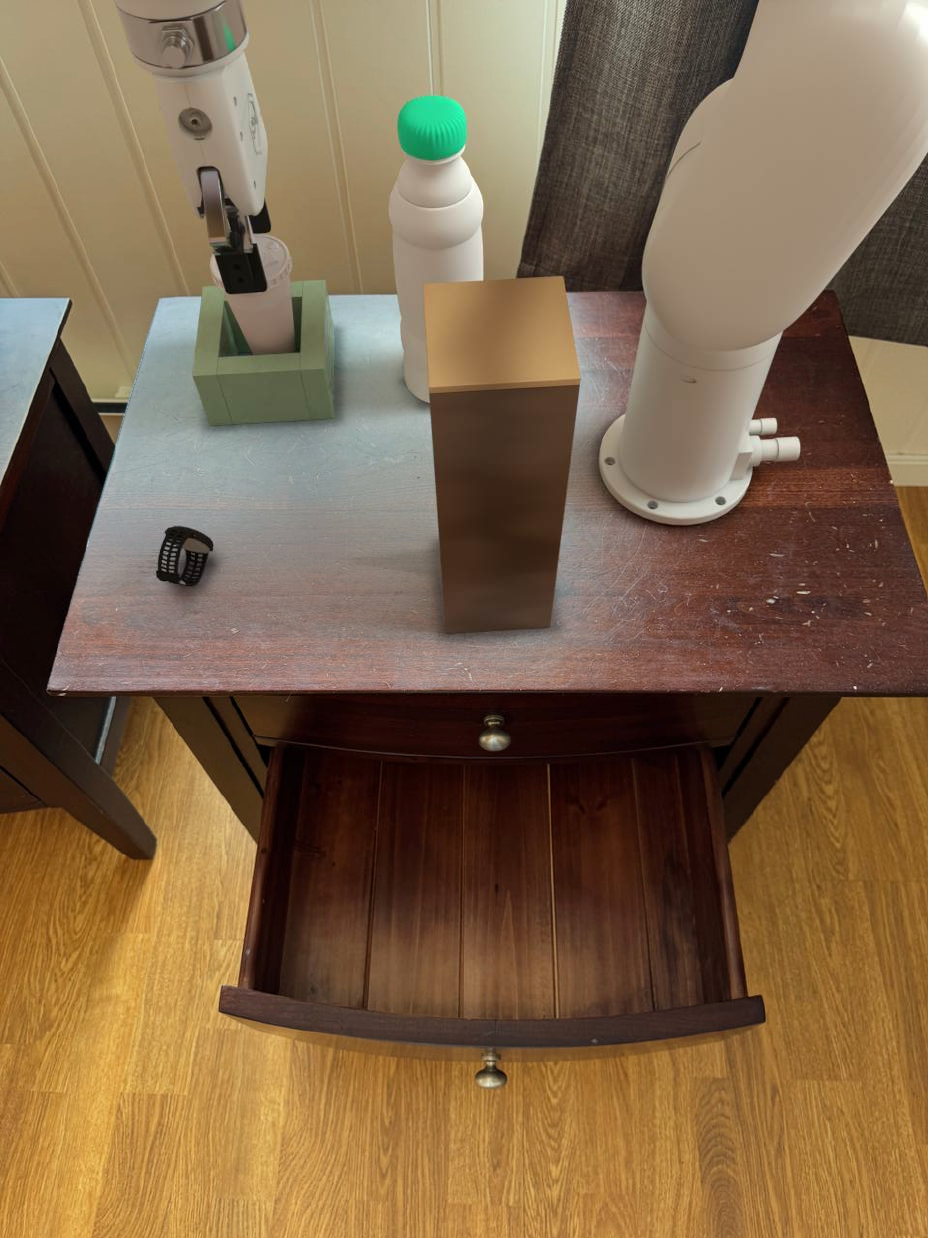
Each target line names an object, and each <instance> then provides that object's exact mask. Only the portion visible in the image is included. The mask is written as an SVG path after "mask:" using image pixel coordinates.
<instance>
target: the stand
mask: <svg viewBox="0 0 928 1238" xmlns="http://www.w3.org/2000/svg"><path fill="white" fill-rule="evenodd" d="M290 288H291V299H292V310H293V322H294V333H295V344H296V350H299V351H300V352H296V353H284V354H267V355H253V354H252V355H251V354H250V355H240V353H250V352H251V353H252V351H251V349H250V347H249V345H248V343H247V341H246V339H245V337H244V335H243V332H242V330H241V328H240V326H239V324H238V322H237V320H236V318H235V316H234V314H233V312H232V309H231V307H230V305H229V303H228V301H227V299H226V297H225V295H224V293H223V291H222V290H221V289H220V288H219V287H218V286H217V285H206V286H202V288H201V297H200V305H199V314H198V324H197V332H196V341H195V349H194V356H193V358H194V359H193V367H192V379H193V382H194V384H195V387H196V391H197V393H198V395H199V396H198V397H199V398H200V401H201V404H202V406H203V409H204V412H205V415H206V419H207V420H208V423H209V427H213V426H229V425H245V424H247V425H248V424H263V423H281V422H297V421H310V420H311V421H314V420H315V421H316V420H331V419H335V326H334V321H333V315H332V309H331V304H330V299H329V292H328V287H327V281H326V279H314V280H313V279H312V280H296V281H295V280H293V281H290Z"/></svg>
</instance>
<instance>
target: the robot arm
mask: <svg viewBox="0 0 928 1238" xmlns="http://www.w3.org/2000/svg"><path fill="white" fill-rule="evenodd" d="M113 1H114V4H115V8H116V11H117V13H118V17H119V20H120V23H121V26H122V29H123V32H124V35H125V38H126V41H127V44H128V47H129V51H130V53H131V57H132V59H133V60H134V61H133V62H135V64H137V66H138V67H140V68H141V69H143V70H144V71H147V72H148V73H150V74H151V75H152V79H153V83H154V87H155V92H156V96H157V100H158V103H159V105H158V107H159V110H160V111H161V115H162V119H163V123H164V127H165V130H166V134H167V138H168V141H169V145H170V148H171V151H172V155H173V159H174V163H175V165H176V169H177V172H178V176H179V179H180V182H181V185H182V188H183V191H184V194H185V197H186V200H187V202H188V205H189V207H190V210H191V212H192V213H193V214H194V216H196V217H197V218H198V219H200V220H204V219H205V222H206V231H207V239H208V243H209V246H210V247H211V251H212V253H213V254H214V256H215V259H216V263H217V266H218V269H219V272H220V276H221V279H222V282H223V285H224V288H225V291H226V293H228V294H245V293H259V292H265V291H266V290H267V280H266V276H265V273H264V269H263V265H262V261H261V257H260V253H259V249H258V246H257V243H252V239H251V233H250V228H249V222H248V217H249V221H250V224H251V228H252V232H253V234H268V233H270V232H271V231H272V222H271V218H270V213H269V209H268V206H267V201H266V197H265V196H266V195H265V194H266V185H267V184H266V183H267V172H268V171H267V169H268V155H269V154H268V151H269V149H268V148H269V147H268V146H269V145H268V136H267V135H268V134H267V131H266V127H265V124H264V120H263V116H262V112H261V109H260V108H261V107H260V105H259V100H258V96H257V94H256V89H255V86H254V82H253V79H252V74H251V71H250V68H249V64H248V60H247V57H246V53H245V51H246V49H247V48H248V45H249V43H250V32H249V28H248V24H247V19H246V15H245V11H244V5H243V1H242V0H113ZM927 154H928V0H758V3H757V7H756V10H755V13H754V17H753V20H752V24H751V27H750V29H749V33H748V36H747V40H746V43H745V46H744V50H743V53H742V55H741V58H740V61H739V64H738V67H737V69H736V71H735V73H734V75H733V77H732V78H730V79H728V80H726V81H725V82H723V83H722V84H720V85H719V86H717V87H716V88H715V89H714V90H712V91H711V92H710V93H709V94H708V95H707V96H706V97H705V98H703V100H702V101H701V102H700V103H699V104H698V106H697V107H696V108H695V109H694V111H693V113H691V115H690V117H689V118H688V120H687V121H686V124H685V125H684V127H683V129H682V131H681V133H680V136H679V138H678V141H677V143H676V145H675V149H674V152H673V155H672V157H671V160H670V163H669V166H668V170H667V173H666V176H665V179H664V182H663V185H662V188H661V193H660V198H659V201H658V205H657V207H656V211H655V214H654V217H653V220H652V224H651V227H650V229H649V232H648V235H647V237H646V238H647V239H646V242H645V246H644V250H643V254H642V261H641V262H642V263H641V281H642V288H643V293H644V297H645V300H646V304H645V310H644V313H643V317H642V318H643V319H642V323H641V329H640V335H639V339H638V346H637V351H636V355H635V361H634V367H633V372H632V377H631V382H630V387H629V392H628V393H629V394H628V399H627V405H626V410H625V412H624V413H623V414H621V415H620V416H618V418H617V419H615V420H614V421H613V422H612V424H611V425H609V427H608V428H607V430H606V432H605V434H604V435H603V437H602V440H601V443H600V447H599V454H598V467H599V473H600V476H601V479H602V482H603V484H604V485H605V487H606V488H607V490H608V492H609V493H610V495H611V496H613V498H614V499H615V500H616V501H617V502H618V503H619V504H621V505H622V506H623V507H624V508H626V509H628V510H629V512H632V513H634V514H636V515H638V516H639V517H642V518H643V519H647V520H650V521H653V522H656V523H659V524H666V525H672V526H690V525H691V526H692V525H698V524H704V523H707V522H710V521H713V520H716V519H719V518H720V517H722V516H724V515H725V514H727V513H729V512H730V511H731V510H733V509H734V508H735V507H736V506H737V505H738V504H739V503H740V501H741V500H742V499H743V498H744V496H745V495H746V493H747V490H748V488H749V485H750V483H751V480H752V476H753V467H759V466H760V464H761V462H774V463H777V462H778V463H779V462H793V461H794V462H796V461H797V460H799V458H800V454H801V441H800V439H799V437H798V436H786V437H773V438H772V439H769V438H768V439H761V438H760V436H770V435H776V434H777V430H778V422H777V418H776V417H766V418H758V419H753V416H754V413H755V411H756V407H757V405H758V403H759V400H760V396H761V394H762V391H763V389H764V385H765V382H766V380H767V377H768V374H769V371H770V368H771V365H772V363H773V360H774V357H775V354H776V351H777V348H778V345H779V343H780V341H781V338H782V336H783V333H784V331H785V330H786V329H787V328H789V327H790V326H791V325H793V324H794V323H795V322H796V321H797V320H798V319H799V318H800V317H801V316H802V315H803V314H804V313H805V312H806V311H807V310H808V309H809V308H810V306H811V305H812V304H813V303H814V302H815V301H816V299H817V298H818V297H819V296H820V295H821V294H822V292H823V291H824V290H825V289H826V287H827V286H828V285H829V283H830V282H831V281H832V280H833V278H834V277H835V276H836V275H837V273H838V272H839V271H840V270H841V268H842V267H843V265H845V263H846V262H847V261H848V259H849V258H850V257H851V256H852V254H853V253H854V252H855V251H856V249H857V248H858V247H859V245H860V244H861V243H862V242H863V241H864V239H865V238H866V237H867V236H868V234H869V233H870V232H871V230H872V229H873V228H874V226H875V225H876V224H877V223H878V221H879V220H880V218H881V217H882V216H883V215H884V214H885V212H886V211H887V209H889V207H890V206H891V204H892V203H893V202H894V201H895V200H896V198H897V197H898V195H899V194H900V193H901V191H902V190H903V189H904V188H905V186H906V185H907V184H908V183H909V181H910V180H911V178H912V177H913V175H914V174H915V173H916V171H917V170H918V168H919V167H920V166H921V164H922V162H923V160H924V159H925V157H926V156H927ZM247 215H248V217H247ZM213 254H212V255H213Z"/></svg>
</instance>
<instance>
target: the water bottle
mask: <svg viewBox="0 0 928 1238" xmlns="http://www.w3.org/2000/svg"><path fill="white" fill-rule="evenodd" d="M396 123H397V124H396V125H397V137H398V142H399V145H400V150H401V153H402V154H403V156H404V157H405V158H406V159H405V161H404V162H403V163H402V165H401V167H400V169H399V172H398V175H397V179H396V181H395V183H394V185H393V187H392V190H391V192H390V195H389V199H388V207H387V209H388V217H389V222H390V224H391V227H392V256H393V257H392V258H393V259H392V260H393V271H394V280H395V289H396V297H397V303H398V308H399V314H400V324H399V325H400V326H399V328H400V329H399V330H400V331H399V332H400V342H401V346H402V350H403V356H402V357H403V359H402V363H403V377H404V381H405V384H406V387H407V389H408V390H409V392H410V393H411V394H412V395H413V396H415V397H416V398H417V399H419V400H420V401H422V402H425V403H427V404H430V399H429V384H428V367H427V350H426V334H425V317H424V300H423V284H429V283H447V282H465V281H482V280H484V246H483V244H484V242H483V231H482V222H483V218H484V198H483V195H482V192H481V191H480V188H479V186H478V184H477V182H476V181H475V179H474V176H472V173H471V170H470V168H469V166H468V164H467V163H466V161H465V160H464V158H463V157H462V155H463V153H464V151H465V149H466V143H467V139H468V123H467V116H466V113H465V110H464V109H463V107H462V105H460V103H459V102H457V101H456V100H455V99H452V98H450V97H447V96H443V95H437V94H434V95H432V94H429V95H423V96H422V95H420V96H419V97H415V98H412V99H411V100H409V101H406V103H405V104H404V105H403V106H402V107H401V109H400V110H399V112H398V116H397V122H396Z"/></svg>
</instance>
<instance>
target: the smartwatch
mask: <svg viewBox="0 0 928 1238" xmlns="http://www.w3.org/2000/svg"><path fill="white" fill-rule="evenodd" d="M164 534H165V535H164V538H163V540H162V543H161V545H160V547H159V553H158V558H157V570H155V576H156V578H157V580H159V581H160V582H168V583H170V584H173V585H178V586H183V587H189V588H191V587H195V586H196V585H198V583H200V580H201V579H202V576H203V573H204V571H205V568H206V565H207V560H208V557H209V554H210V553H212V552H213V551H214V547H215V545H214V542H213V540H212V538H211V537H209V536H208V535H207V534H205V533H203V532H202V531H199V530H197V529H194V528H191V527H189V526H182V525H174V526H171V527H170V526H169V527H168V528H166V529H165V531H164ZM167 548H168V549H167ZM182 550H184V551H185V552H184V553H185V564H184V568H183V570H182V571H181V575H180V573H179V565H180V557H181V552H182ZM165 552H166V553H167V554H166V553H165ZM173 554H174V555H173ZM172 558H173V559H172ZM165 562H166V563H165ZM171 563H174V564H171ZM191 563H193V564H191ZM170 567H172V568H170ZM189 567H190V568H189Z"/></svg>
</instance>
